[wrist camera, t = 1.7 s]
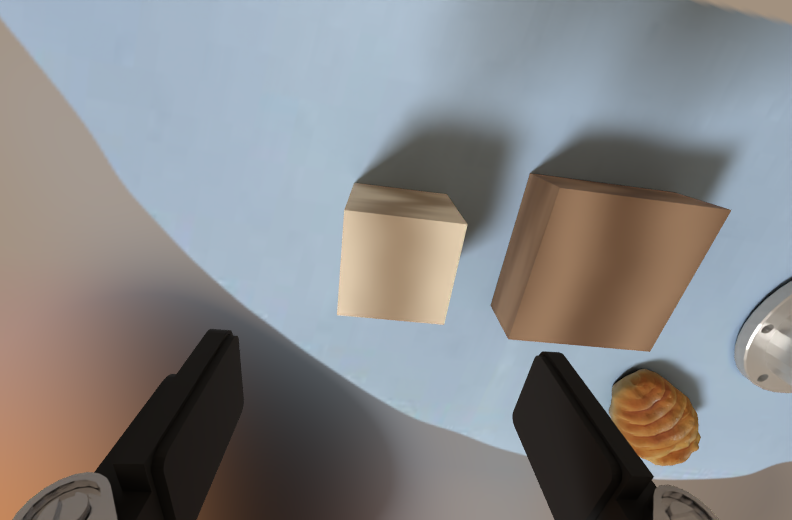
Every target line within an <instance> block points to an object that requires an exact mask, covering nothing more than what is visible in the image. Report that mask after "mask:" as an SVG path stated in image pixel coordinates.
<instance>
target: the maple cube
mask: <svg viewBox="0 0 792 520" xmlns="http://www.w3.org/2000/svg"><path fill="white" fill-rule="evenodd" d="M466 229H467V223H466V222H465V220H464V219H463V217H462V216H461V214H460V213H459V211H458V210H457V208H456V207H455V205H454V204H453V203H452V201H451V200H450V198H449V197H448V195H447V194H441V193H432V192H424V191H416V190H408V189H400V188H392V187H384V186H376V185H368V184H360V183H354V185H353V188H352V191H351V193H350V196H349V199H348V202H347V204H346V207H345V210H344V223H343V237H342V252H341V266H340V281H339V295H338V309H337V315H343V316H354V317H365V318H376V319H387V320H398V321H409V322H420V323H431V324H442V325H444V322H445V318H446V314H447V310H448V305H449V301H450V297H451V293H452V288H453V284H454V280H455V276H456V271H457V267H458V263H459V258H460V254H461V250H462V246H463V241H464V237H465V233H466Z"/></svg>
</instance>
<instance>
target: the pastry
mask: <svg viewBox="0 0 792 520" xmlns="http://www.w3.org/2000/svg"><path fill="white" fill-rule="evenodd" d="M609 414H610V416H611V419H612V421H613V422H614V423H615V425H616V426H617V428H618V429H619V430H620V432H621V433H622V434H623V436H624V437H625V438H626V440H627V441H628V442H629V444H630V445H631V446H632V448H633V449H634V450H635V452H636V453H637V455H638V456H639V457H641V458H643V459H646V460H648V461H650V462H652V463H654V464H655V465H661V466H667V465H675V464H679V463H683V462H685V461H686V460H687V459H688V458H689V457H690V455H691V453H692V452H694V451H697V450H698V449H699V446H698V444H699V441H700V438H701V437H700V435H699V433H698V417H697V413H696V411H695V410H694V408H693V407H692V404H691V402H690V400H689V398H688V397H687V396H685V395H684V394H683V393H682V392H681V391H679V390H678V389H676V388H675V387H674V386H673V385H671V384H670V383H669V382H668V381H667V380H666V379H664V378H663V377H662V376H660V375H659V374H657V373H656V372H653V371H650V370H647V369H640V370H638V371H637V372H635V373H632V374H630V375H628V376H626V377H624V378H623V379H621V380H620V381H618V382H617V383H616V384H614V385H613V387H612V400H611V405H610V408H609Z"/></svg>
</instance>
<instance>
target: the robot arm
mask: <svg viewBox="0 0 792 520" xmlns="http://www.w3.org/2000/svg"><path fill="white" fill-rule="evenodd" d="M734 358H735V362H736V366H737V368H738V369H739V371H740V372H741V374H742V375H743V376H745V377H746V378H747V379H748V380H750V381H751V382H752V383H753V384H755V385H757V386H758V387H760V388H762V389H765V390H768V391H772V392H780V393H792V281H790V282H789V283H787V284H785V285H784V286H782V287H781V288H779V289H778V290H777V291H776V292H774V293H773V294H772V295H771V296H769V297H768V298H767V299H766V300H765V301H764V302H763V303H762V304H761V305H760V306H759V307H758V308H757V309H756V310H755V311H754V312H753V313H752V314H751V316H750V317H749V318H748V320H747V321H746V322H745V324H744V326H743V328H742V330H741V331H740V333H739V335H738V338H737V342H736V345H735V357H734ZM243 404H244V397H243V386H242V374H241V363H240V350H239V339H238V336H233V334H232V332H231V331H230V330H216V329H210V330H208V331H207V333H206V334H205V335H204V337H203V338H202V340H201V341H200V342H199V344H198V345H197V346H196V348H195V349H194V351H193V352H192V354H191V355H190V356H189V358H188V359H187V360H186V362H185V363H184V365H183V366H182V367H181V369H180V370H179V372H178V373H177V374H171V375H169V376H167V377H166V378H165V379H164V380H163V381H162V383H161V384H160V385H159V387H158V388H157V389H156V391H155V392H154V393H153V395H152V396H151V398H150V399H149V400H148V401H147V403H146V404H145V405H144V407H143V408H142V409H141V411H140V412H139V413H138V415H137V416H136V417H135V419H134V420H133V421H132V423H131V424H130V425H129V427H128V428H127V429H126V431H125V432H124V433H123V435H122V436H121V437H120V439H119V440H118V441H117V443H116V444H115V445H114V447H113V448H112V450H111V451H110V452H109V454H108V455H107V456H106V457H105V459H104V460H103V461H102V463H101V464H100V465H99V467H98V468H97V470H96V471H95V472H94V473H92V472H86V473H80V474H75V475H71V476H69V477H66V478H63V479H61V480H58V481H57V482H55V483H53V484H51V485H49V486H48V487H46V488H44V489H43V490H41V491H40V492H39V493H38V494H36V495H35V496H34V497H32V498H31V499H30V500H29V501H28V502H27V503H26V504H25V505H24V506H23V507H22V508H21V509H20V510H19V511H18V512H17V513H16V515H15V517H14V518H13V520H196V519H197V517H198V515H199V512H200V510H201V507H202V505H203V503H204V500H205V498H206V495H207V493H208V491H209V488H210V486H211V484H212V481H213V479H214V477H215V474H216V472H217V470H218V467H219V465H220V463H221V460H222V458H223V455H224V453H225V450H226V448H227V446H228V444H229V441H230V439H231V436H232V434H233V432H234V429H235V427H236V424H237V422H238V420H239V418H240V415H241V413H242V409H243ZM513 424H514V426H515V429H516V431H517V433H518V436H519V438H520V440H521V443H522V445H523V447H524V450H525V452H526V454H527V457H528V459H529V461H530V463H531V466H532V468H533V471H534V473H535V475H536V478H537V480H538V482H539V484H540V487H541V489H542V491H543V494H544V496H545V499H546V500H547V503H548V506H549V508H550V510H551V513H552V515H553V517H554V519H555V520H719V518H718V517H717V516H716V515H715V514H714V513H713V512H712V511H711V509H709V508H708V507H707V506H706V505H705V504H704V503H703V502H701V501H700V500H699V499H698V498H696V497H695V496H693V495H692V494H690V493H689V492H687V491H684V490H683V489H680V488H678V487H675V486H671V485H660V486H659V487H656V486H655V484H654V483H653V482H652V479H653V477H654V476H653V475H652V473H651V472H650V471H649V469H648V468H647V467H646V465H645V464H644V463H643V461H642V460H641V459H640V457H639V456H638V455H637V453H636V452H635V450H634V449H633V448H632V446H631V445H630V444H629V442H628V441H627V440H626V438H625V437H624V436H623V434H622V433H621V432H620V430H619V429H618V428H617V426H616V425H615V423H614V422H613V421H612V419H611V418H610V417H609V415H608V414H607V413H606V411H605V410H604V409H603V407H602V406H601V405H600V403H599V402H598V401H597V399H596V398H595V397H594V395H593V394H592V392H591V391H590V390H589V388H588V387H587V386H586V384H585V383H584V382H583V380H582V379H581V378H580V376H579V375H578V374H577V372H576V371H575V370H574V368H573V367H572V365H571V364H570V363H569V361H568V360H567V359H566V357H565V356H564V355H563V354H562V353H559V352H541V353H540V355H539V356H536V357H535V359H534V361H533V363H532V366H531V369H530V371H529V374H528V376H527V379H526V381H525V384H524V386H523V389H522V391H521V394H520V396H519V399H518V401H517V404H516V406H515V409H514V411H513Z"/></svg>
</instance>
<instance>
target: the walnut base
mask: <svg viewBox="0 0 792 520" xmlns="http://www.w3.org/2000/svg"><path fill="white" fill-rule="evenodd" d="M730 212H731V210H729V209H726V208H723V207H720V206H716V205H713V204H710V203H707V202H704V201H700V200H697V199H694V198H691V197H688V196H684V195H681V194H678V193H675V192H668V191H660V190H652V189H645V188H637V187H630V186H622V185H615V184H607V183H600V182H592V181H585V180H577V179H570V178H562V177H555V176H547V175H540V174H532V173H530V175H529V178H528V182H527V185H526V188H525V192H524V195H523V199H522V202H521V205H520V209H519V212H518V215H517V219H516V222H515V225H514V229H513V232H512V235H511V239H510V242H509V246H508V249H507V252H506V256H505V259H504V262H503V266H502V269H501V272H500V276H499V279H498V282H497V286H496V289H495V293H494V296H493V299H492V303H491V307H492V309H493V311H494V313H495V315H496V317H497V319H498V320H499V322H500V324H501V326H502V328H503V330H504V332H505V334H506V336H507V338H508V339H512V340H524V341H535V342H547V343H558V344H569V345H581V346H592V347H604V348H615V349H626V350H638V351H649V352H650V351H651V349H652V347H653V345H654V344H655V342H656V340H657V338H658V337H659V335H660V333H661V332H662V330H663V328H664V326H665V325H666V323H667V321H668V319H669V318H670V316H671V314H672V312H673V311H674V309H675V307H676V305H677V304H678V302H679V300H680V299H681V297H682V295H683V293H684V292H685V290H686V288H687V286H688V285H689V283H690V281H691V279H692V278H693V276H694V274H695V272H696V271H697V269H698V267H699V266H700V264H701V262H702V260H703V259H704V257H705V255H706V253H707V252H708V250H709V248H710V246H711V245H712V243H713V241H714V239H715V238H716V236H717V234H718V233H719V231H720V229H721V227H722V226H723V224H724V222H725V220H726V219H727V217H728V215H729V213H730Z"/></svg>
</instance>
